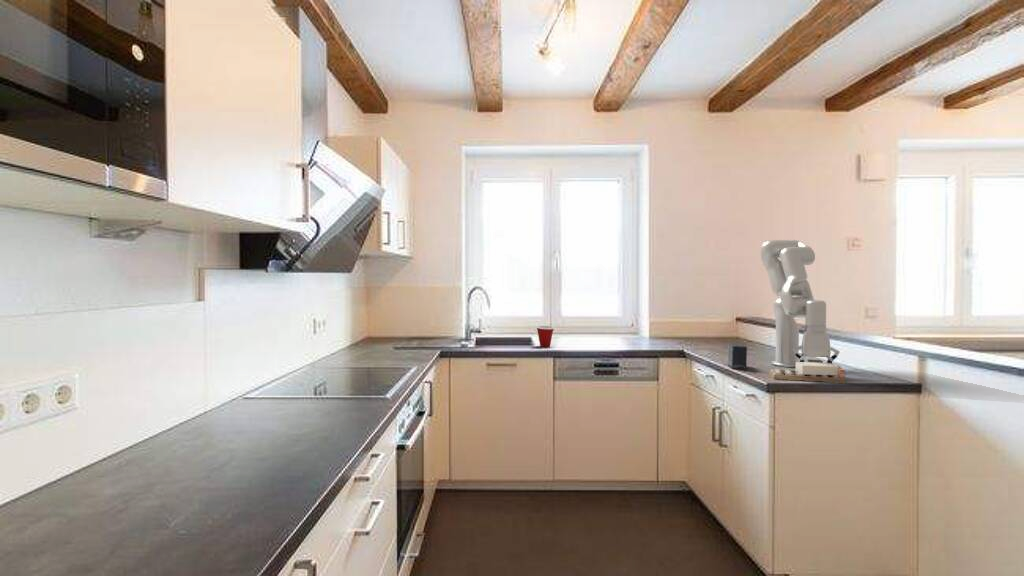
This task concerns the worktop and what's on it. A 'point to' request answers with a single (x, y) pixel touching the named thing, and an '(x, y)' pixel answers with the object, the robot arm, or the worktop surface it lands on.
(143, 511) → the worktop surface
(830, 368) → the slab
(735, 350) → the small box
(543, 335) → the plastic cup
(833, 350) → the robot arm
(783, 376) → the roller bed
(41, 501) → the worktop surface
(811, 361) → the walnut block
